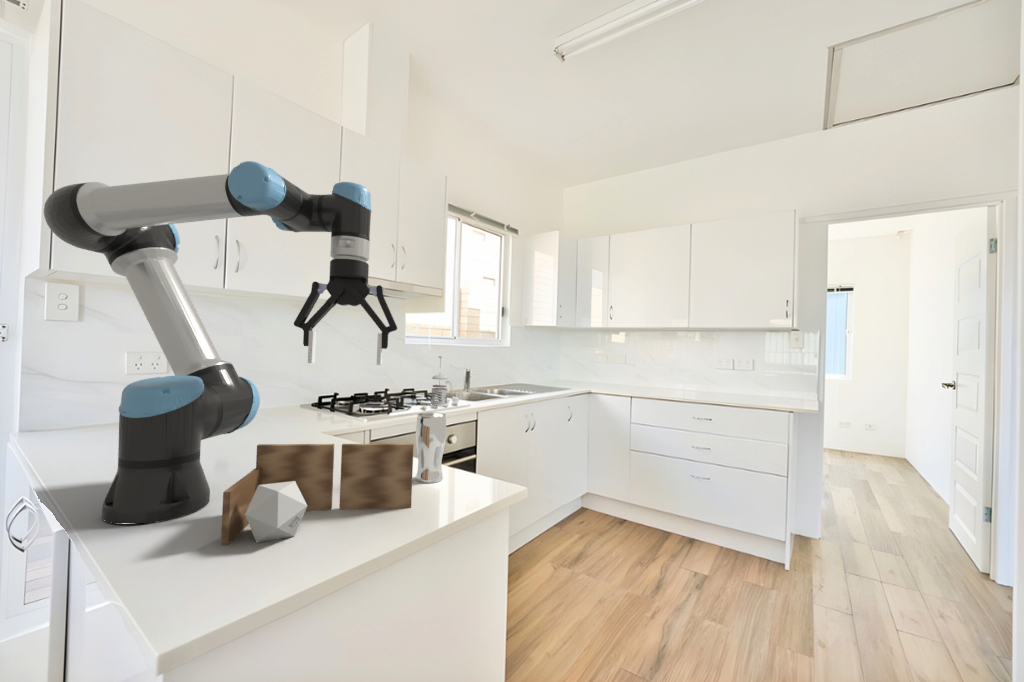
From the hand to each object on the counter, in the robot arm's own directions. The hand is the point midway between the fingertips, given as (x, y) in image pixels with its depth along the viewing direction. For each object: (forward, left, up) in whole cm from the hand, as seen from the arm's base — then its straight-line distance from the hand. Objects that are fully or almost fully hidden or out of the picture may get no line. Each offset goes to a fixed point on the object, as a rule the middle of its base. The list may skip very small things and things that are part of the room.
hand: (345, 363), depth 91 cm
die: (-6, -20, -27) cm, 34 cm away
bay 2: (+8, -9, -27) cm, 29 cm away
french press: (+24, +131, -27) cm, 136 cm away
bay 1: (-7, -16, -27) cm, 31 cm away
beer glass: (+18, +8, -27) cm, 33 cm away
